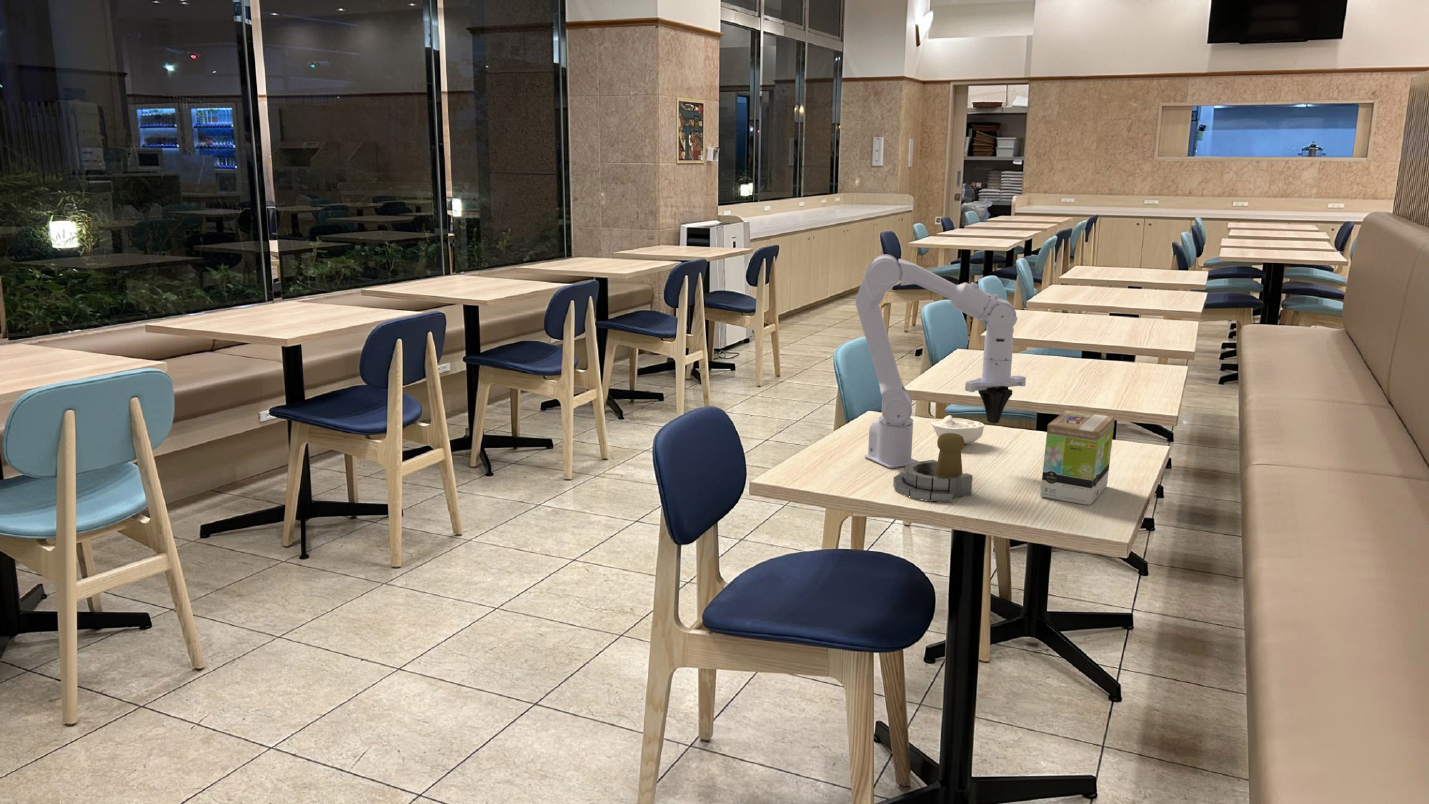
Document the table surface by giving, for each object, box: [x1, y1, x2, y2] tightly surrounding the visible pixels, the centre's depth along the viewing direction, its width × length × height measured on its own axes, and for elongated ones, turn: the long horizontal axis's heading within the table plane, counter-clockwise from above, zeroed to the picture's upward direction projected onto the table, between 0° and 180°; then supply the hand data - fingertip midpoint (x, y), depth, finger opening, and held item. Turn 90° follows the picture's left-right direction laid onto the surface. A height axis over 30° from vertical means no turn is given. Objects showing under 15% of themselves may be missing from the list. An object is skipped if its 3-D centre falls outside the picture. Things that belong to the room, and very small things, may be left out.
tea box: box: [1039, 410, 1115, 506], centre depth 204 cm, size 15×10×15 cm, turn 149°
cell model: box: [930, 414, 985, 445], centre depth 239 cm, size 10×12×7 cm
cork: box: [935, 433, 965, 477], centre depth 206 cm, size 6×6×11 cm
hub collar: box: [892, 459, 973, 503], centre depth 205 cm, size 16×12×4 cm
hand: (993, 422), depth 219 cm, fingers closed
